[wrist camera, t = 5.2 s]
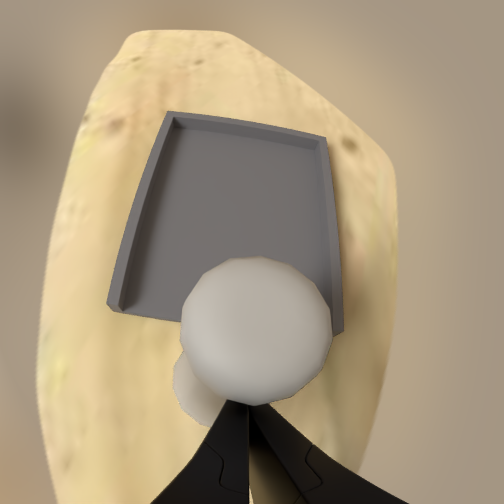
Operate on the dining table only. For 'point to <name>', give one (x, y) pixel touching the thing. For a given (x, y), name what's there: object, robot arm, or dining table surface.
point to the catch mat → (226, 212)
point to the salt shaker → (249, 336)
